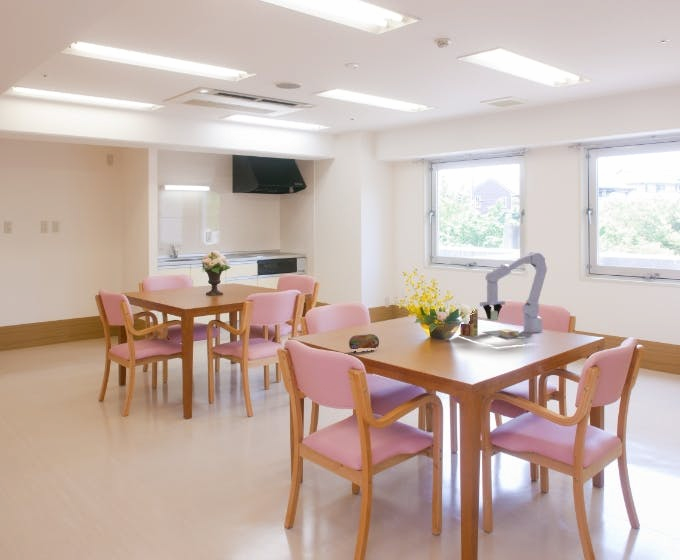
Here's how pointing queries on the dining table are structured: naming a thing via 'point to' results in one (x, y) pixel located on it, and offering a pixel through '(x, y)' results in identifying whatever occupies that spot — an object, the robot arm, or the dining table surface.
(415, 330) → the dining table surface
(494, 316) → the sage block
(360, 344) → the tin
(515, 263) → the robot arm
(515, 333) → the cream base block
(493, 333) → the slate mat
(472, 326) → the candy box
